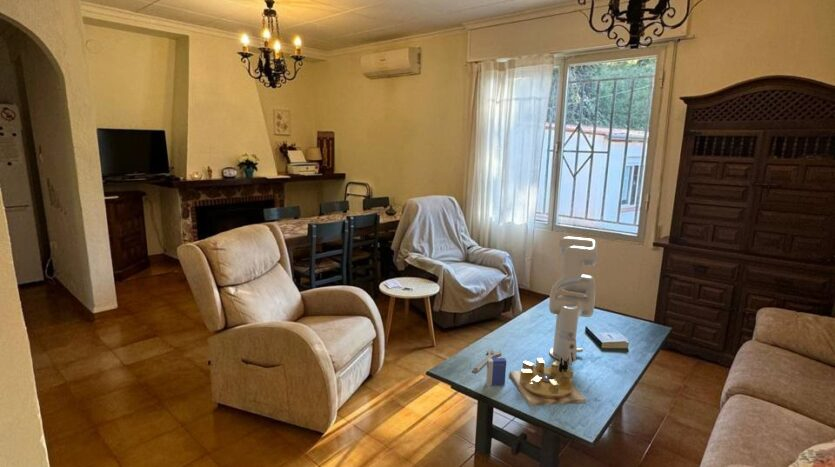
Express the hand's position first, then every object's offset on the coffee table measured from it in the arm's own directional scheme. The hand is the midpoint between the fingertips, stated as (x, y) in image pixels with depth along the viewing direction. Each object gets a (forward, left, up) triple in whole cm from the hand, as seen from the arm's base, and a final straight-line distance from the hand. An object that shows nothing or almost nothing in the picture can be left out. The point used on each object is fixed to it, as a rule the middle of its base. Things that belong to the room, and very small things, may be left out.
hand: (563, 371), depth 194 cm
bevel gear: (+9, +3, -4) cm, 10 cm away
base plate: (+9, +3, -5) cm, 11 cm away
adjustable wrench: (+28, -22, -6) cm, 37 cm away
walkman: (+30, -2, -6) cm, 31 cm away
